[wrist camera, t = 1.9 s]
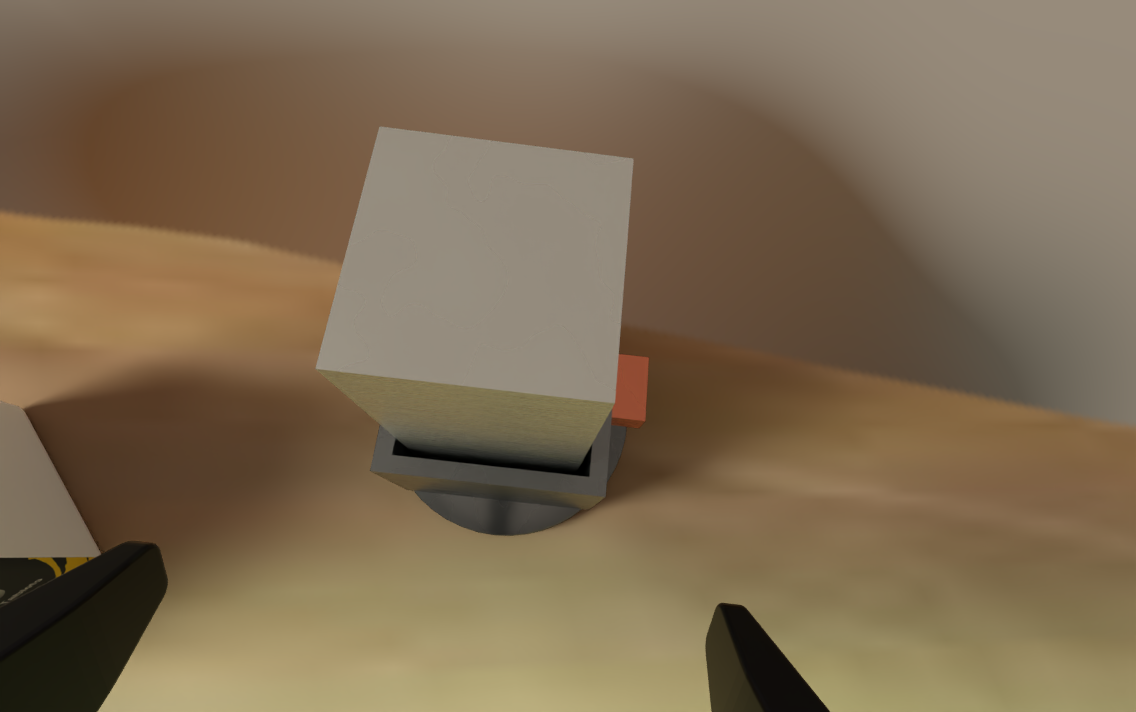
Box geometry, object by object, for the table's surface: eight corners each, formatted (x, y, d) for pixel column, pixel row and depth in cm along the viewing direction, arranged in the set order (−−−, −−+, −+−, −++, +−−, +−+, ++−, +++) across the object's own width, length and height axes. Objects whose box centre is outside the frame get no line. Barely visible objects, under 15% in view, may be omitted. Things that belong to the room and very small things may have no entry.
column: (570, 486, 21) (617, 406, 9) (431, 471, 21) (311, 371, 9) (582, 356, 22) (636, 157, 11) (454, 341, 22) (377, 124, 11)
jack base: (615, 548, 21) (645, 546, 16) (372, 522, 21) (315, 510, 15) (630, 325, 24) (660, 257, 19) (418, 300, 24) (385, 224, 18)
